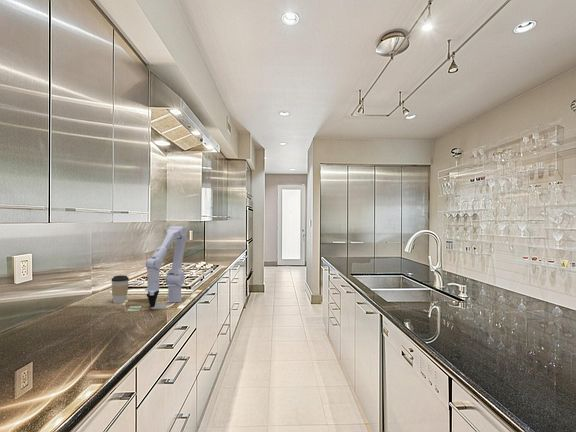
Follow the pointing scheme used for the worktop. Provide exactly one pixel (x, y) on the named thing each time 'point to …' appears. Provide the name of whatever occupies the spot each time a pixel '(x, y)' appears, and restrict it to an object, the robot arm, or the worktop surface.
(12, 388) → the worktop surface
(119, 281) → the coffee cup
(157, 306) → the block
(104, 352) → the worktop surface
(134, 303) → the wooden corner frame
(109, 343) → the worktop surface
